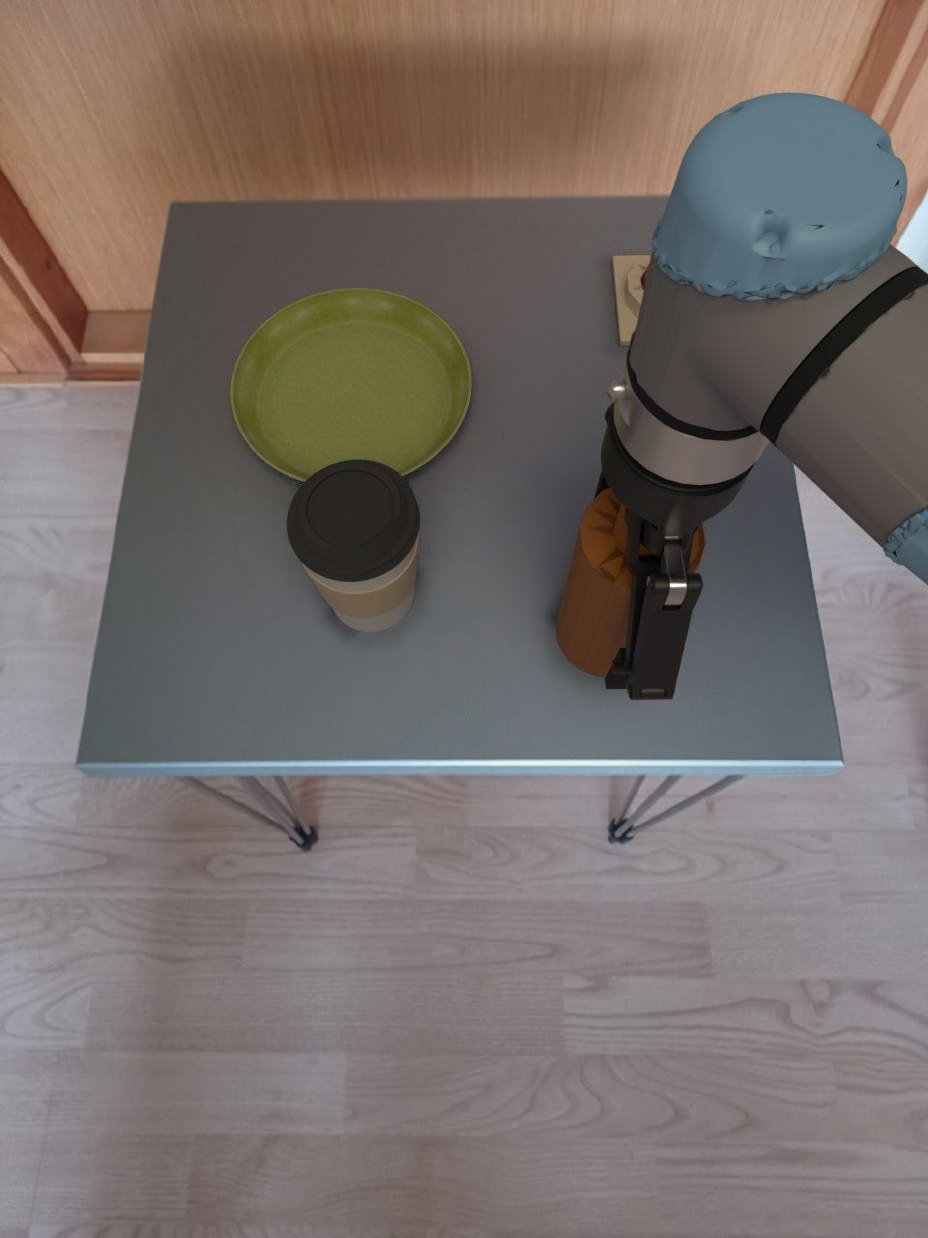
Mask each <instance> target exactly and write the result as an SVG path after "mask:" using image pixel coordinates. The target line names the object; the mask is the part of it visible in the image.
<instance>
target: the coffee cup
mask: <svg viewBox="0 0 928 1238" xmlns="http://www.w3.org/2000/svg"><path fill="white" fill-rule="evenodd" d="M420 513H421V512H420V508H419V504H418V502H417V499H416V496H415V494H414V490H413V489H412V487H411V485H410V484H409V482H408V481H407V479H405V477H404V476H403V477H402V476H401V475H400V474H399V473H398V472H397V471H395V470H394V469H392V468H391V467H389V466H387V465H384V464H382V463H379V462H375V461H371V460H362V459H355V460H346V461H341V462H337V463H334V464H331V465H329V466H326V467H324V468H322V469H321V470H319V471H317V472H316V473H314V474H313V475H312V476H310V477H309V478H308V479H307V480H306V481H305V482H302V484H301V485H300V486H299V487H298V488H297V490H296V492H295V493H294V495H293V497H292V499H291V501H290V504H289V506H288V509H287V515H286V533H287V538H288V541H289V545H290V547H291V549H292V551H293V554H294V555H295V556H296V558H297V559H298V560H299V561H300V562H301V565H302V566H303V568H304V570H305V571H306V573H307V574H308V576H309V578H310V579H311V580H312V582H313V584H314V586H315V587H316V589H317V590H318V592H319V593H320V595H321V597H322V598H323V601H325V603H326V604H328V605H329V607H330V608H331V609H332V610H333V612H334V614H335V615H336V617H337V618H338V619H339V620H340V622H342V623H343V624H344V625H346V626H347V627H348V628H351V629H353V630H354V631H358V632H364V633H376V632H377V633H378V632H382V631H385V630H388V629H390V628H392V627H394V626H396V625H397V624H399V623H400V622H401V621H402V620H403V619H404V618H405V617H406V616H407V615H408V613H409V612H410V610H411V608H412V606H413V603H414V600H415V594H416V581H417V576H418V575H417V574H418V556H419V532H420V525H421V514H420Z"/></svg>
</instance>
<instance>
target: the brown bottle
mask: <svg viewBox="0 0 928 1238" xmlns="http://www.w3.org/2000/svg"><path fill="white" fill-rule="evenodd" d="M624 516H625V506H624V505H623V504H622V503H621V502H620V501H619V500H618V499H617V498H616V497H615V495H614V494H613V493H612V491H611V490H610V488H608V489H605V490H603V491H602V492H601V493H600V494H599V495H598V496H597V497H596V498H595V499H594V498H593V500H592V501H591V502H590V503H589V504H588V505H587V506H586V508H585V511H584V514H583V517H582V520H581V521H580V524H579V529H578V533H577V537H576V541H575V545H574V549H573V552H572V557H571V561H570V564H569V568H568V569H569V570H568V573H567V577H566V581H565V585H564V590H563V593H562V596H561V597H562V598H561V600H560V606H559V608H558V612H557V617H556V621H555V623H556V624H555V626H556V627H555V634H556V641H557V644H558V646H559V648H560V650H561V652H562V654H563V655H564V657H565V658H566V659H567V661H568V662H569V663H571V665H573V666H574V667H576V668H577V669H578V670H580V671H581V672H584V673H586V674H589V675H592V676H595V677H603V678H605V677H606V675H607V673H608V671H609V669H610V667H611V665H612V660H613V659H615V657H616V655H617V653H618V651H619V649H620V648H626V639H627V628H628V617H629V607H630V596H631V585H632V574H630V572H629V570H628V567H627V565H626V562H625V556H626V544H627V533H628V528H627V525H626V523H625V520H624ZM703 523H704V522H703ZM703 523H701V524H699V527H698V529H697V531H696V532H695V533H694V535H693V541H692V549H691V557H690V565H689V570H688V571H687V573H697V570H698V568H699V567H700V565H701V562H702V558H703V554H704V551H705V548H706V545H707V544H706V543H707V542H706V536H705V530H704V524H703ZM639 555H653V554H652V553H650V552H649V551H648V550H647V549H646V548H645V547H643V546H642V545H641V544H640V548H639Z"/></svg>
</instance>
